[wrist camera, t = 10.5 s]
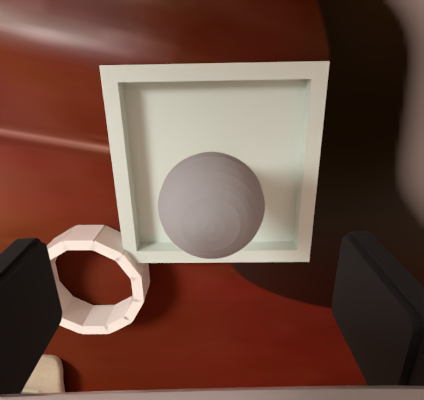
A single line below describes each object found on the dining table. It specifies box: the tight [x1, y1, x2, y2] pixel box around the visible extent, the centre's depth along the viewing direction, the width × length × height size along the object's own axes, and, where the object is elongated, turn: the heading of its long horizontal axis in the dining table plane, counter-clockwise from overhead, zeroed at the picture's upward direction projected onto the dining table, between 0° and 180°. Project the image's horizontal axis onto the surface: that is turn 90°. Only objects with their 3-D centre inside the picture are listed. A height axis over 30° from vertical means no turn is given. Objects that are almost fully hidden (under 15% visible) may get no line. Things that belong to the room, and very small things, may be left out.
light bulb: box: [158, 152, 265, 259], centre depth 19 cm, size 5×6×10 cm
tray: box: [99, 61, 330, 263], centre depth 24 cm, size 14×14×2 cm
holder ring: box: [47, 225, 150, 334], centre depth 27 cm, size 9×9×3 cm
